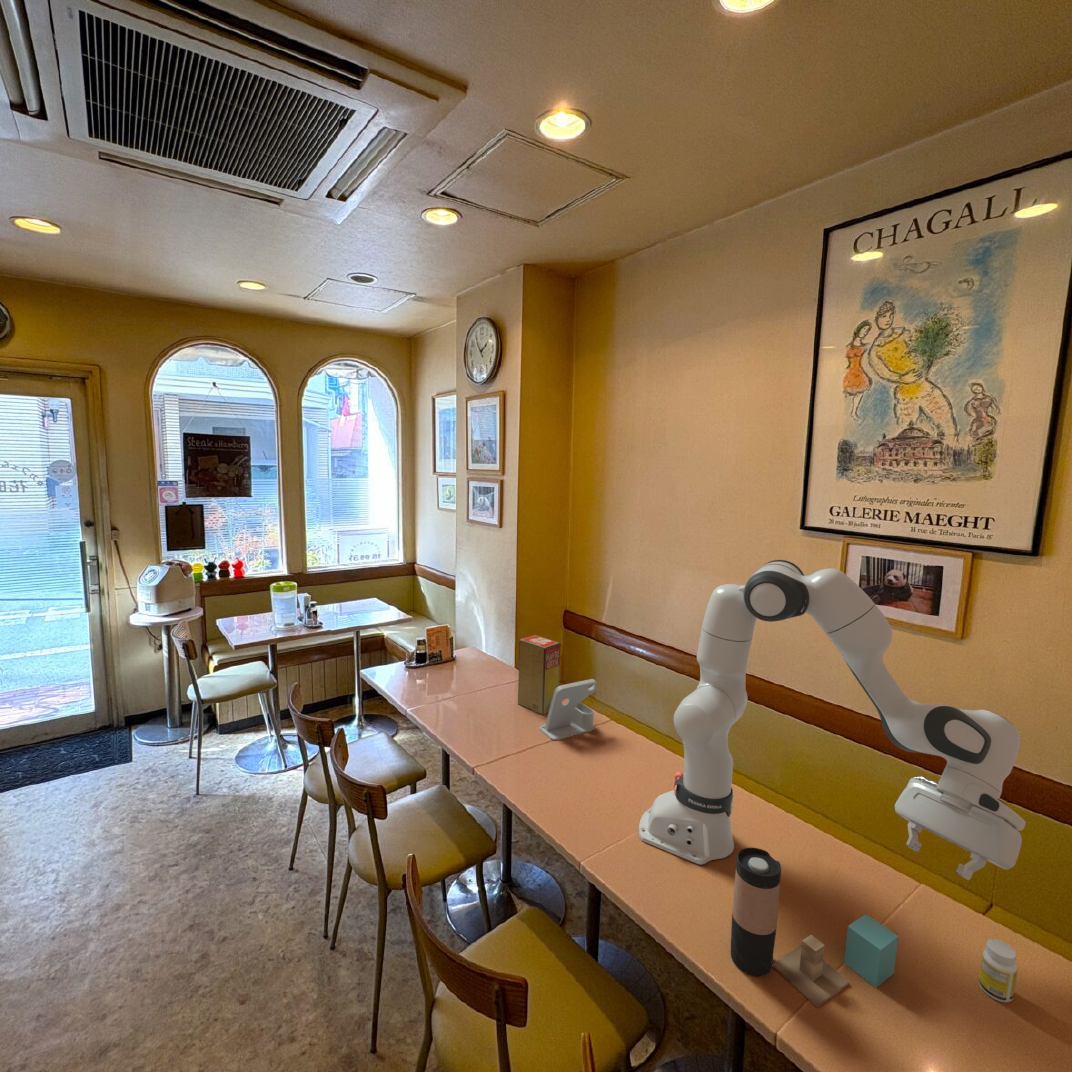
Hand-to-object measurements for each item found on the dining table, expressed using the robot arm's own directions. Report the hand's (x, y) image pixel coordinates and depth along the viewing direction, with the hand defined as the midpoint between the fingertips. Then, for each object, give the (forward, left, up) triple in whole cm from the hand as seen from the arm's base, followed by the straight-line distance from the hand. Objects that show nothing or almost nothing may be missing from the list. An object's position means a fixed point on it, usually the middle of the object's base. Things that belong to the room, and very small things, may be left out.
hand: (936, 862), depth 105 cm
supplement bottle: (+10, -4, -19) cm, 22 cm away
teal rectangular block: (-10, -8, -19) cm, 23 cm away
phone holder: (-91, +55, -19) cm, 108 cm away
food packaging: (-107, +68, -19) cm, 128 cm away
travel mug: (-30, -15, -19) cm, 39 cm away
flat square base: (-20, -14, -19) cm, 31 cm away
